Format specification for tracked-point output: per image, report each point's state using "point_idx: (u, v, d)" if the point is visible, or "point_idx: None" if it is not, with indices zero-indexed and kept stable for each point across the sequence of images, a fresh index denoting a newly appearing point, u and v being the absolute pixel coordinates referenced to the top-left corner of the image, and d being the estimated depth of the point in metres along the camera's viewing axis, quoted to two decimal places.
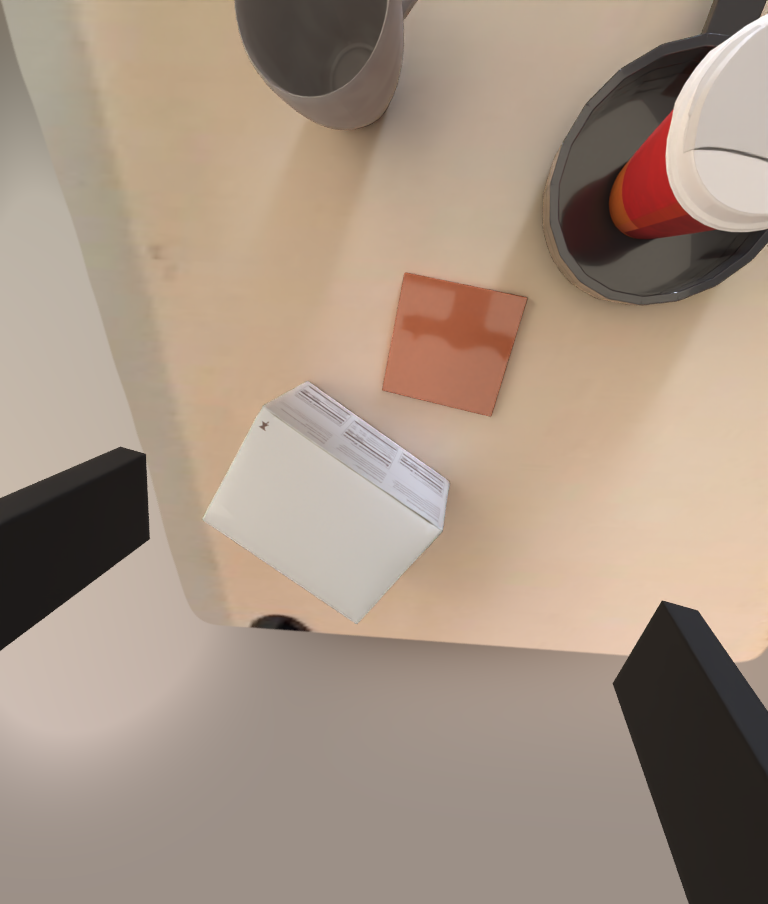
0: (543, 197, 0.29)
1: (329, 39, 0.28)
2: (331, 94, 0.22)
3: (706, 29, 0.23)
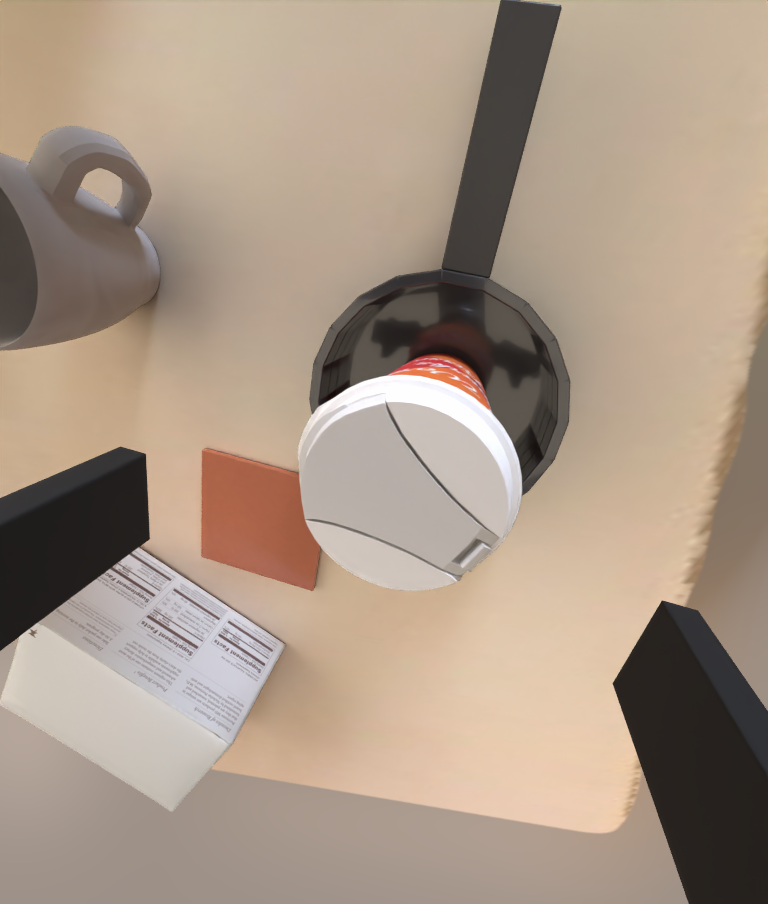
0: None
1: None
2: (5, 347, 0.20)
3: (442, 263, 0.20)
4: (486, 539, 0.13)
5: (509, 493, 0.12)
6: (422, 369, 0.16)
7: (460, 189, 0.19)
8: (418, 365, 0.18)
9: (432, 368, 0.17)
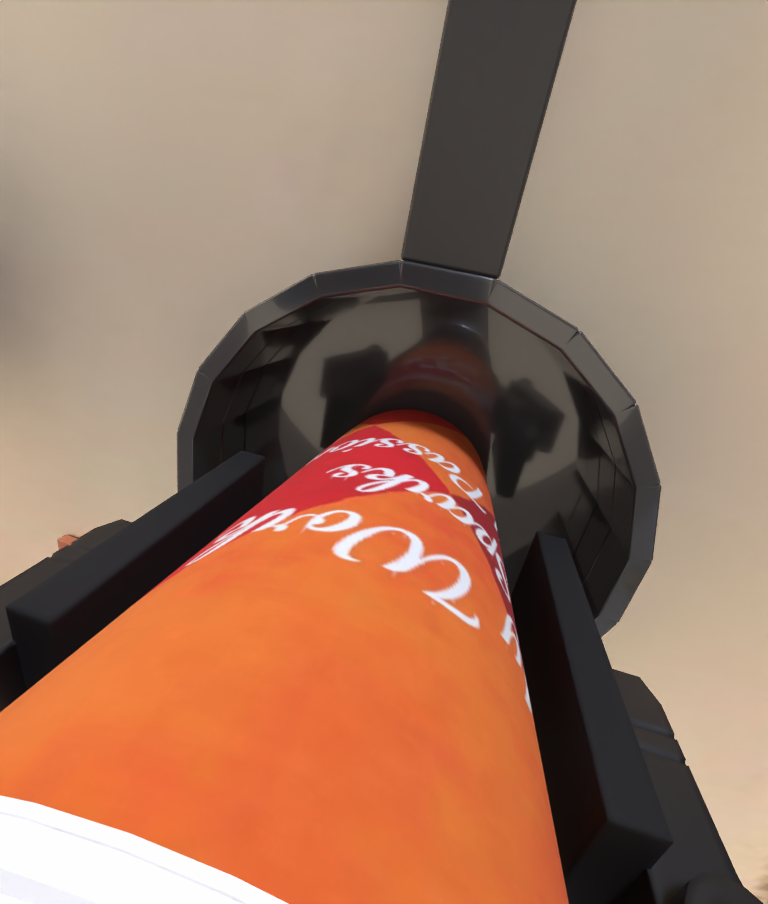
0: None
1: None
2: None
3: None
4: None
5: None
6: (320, 525, 0.06)
7: (436, 81, 0.08)
8: (330, 486, 0.07)
9: (354, 511, 0.06)
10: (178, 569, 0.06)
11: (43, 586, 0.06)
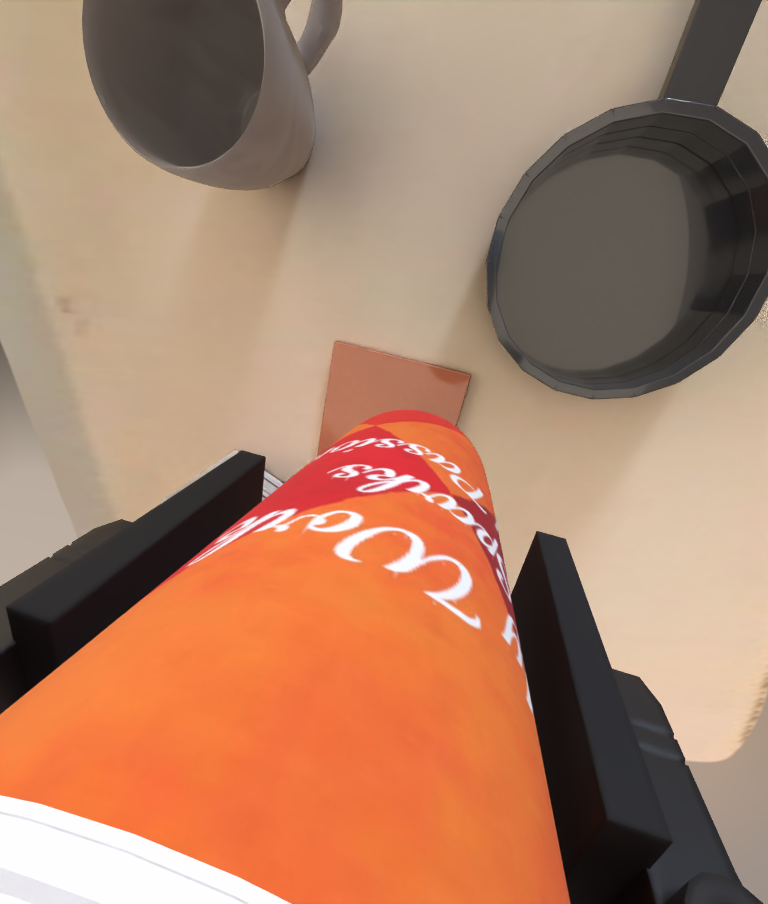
0: None
1: (235, 82, 0.24)
2: (206, 166, 0.18)
3: (664, 93, 0.19)
4: None
5: None
6: (322, 525, 0.06)
7: (702, 1, 0.18)
8: (331, 486, 0.07)
9: (356, 511, 0.06)
10: (179, 569, 0.06)
11: (43, 586, 0.06)
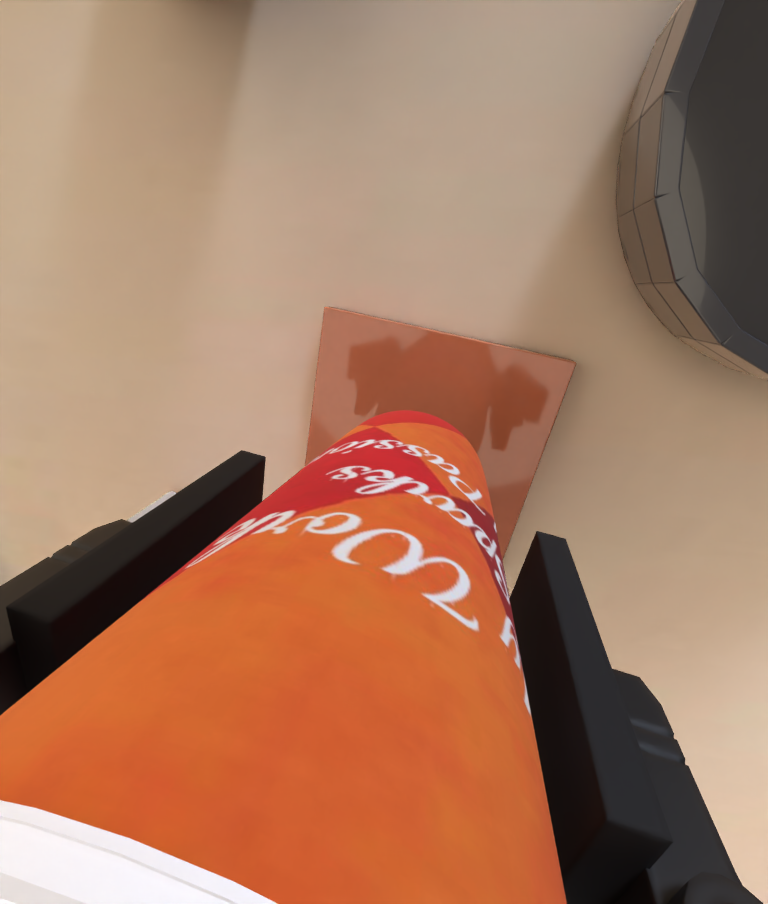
0: (624, 142, 0.13)
1: None
2: None
3: None
4: None
5: None
6: (320, 527, 0.06)
7: None
8: (330, 488, 0.07)
9: (354, 513, 0.06)
10: (178, 572, 0.06)
11: (43, 586, 0.06)
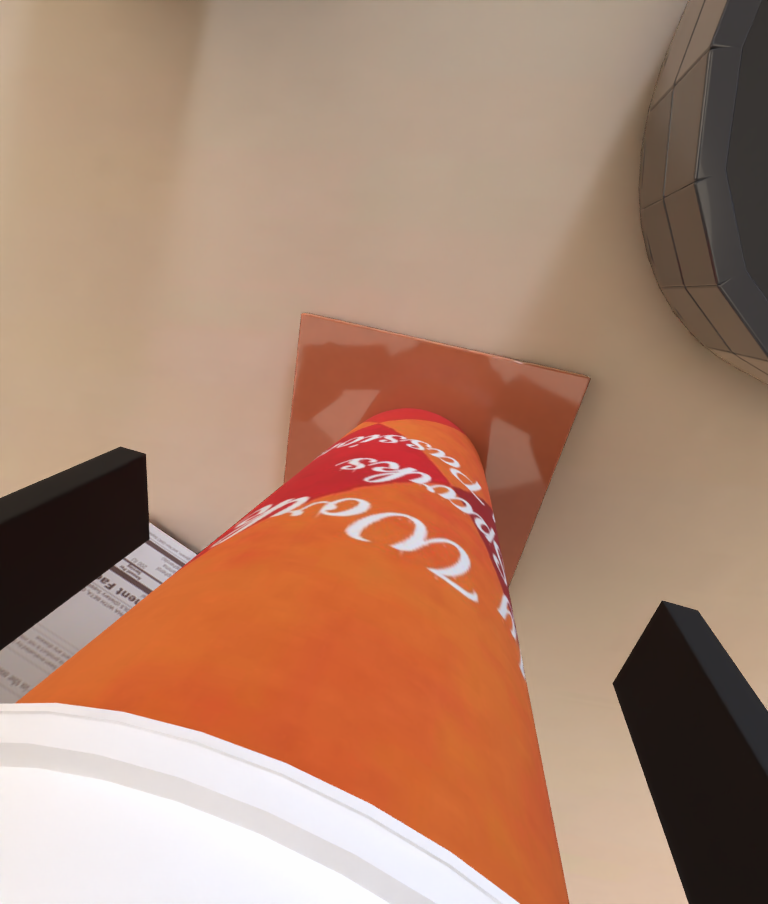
0: (650, 118, 0.11)
1: None
2: None
3: None
4: None
5: None
6: (333, 510, 0.07)
7: None
8: (340, 477, 0.08)
9: (363, 498, 0.07)
10: (203, 550, 0.06)
11: None
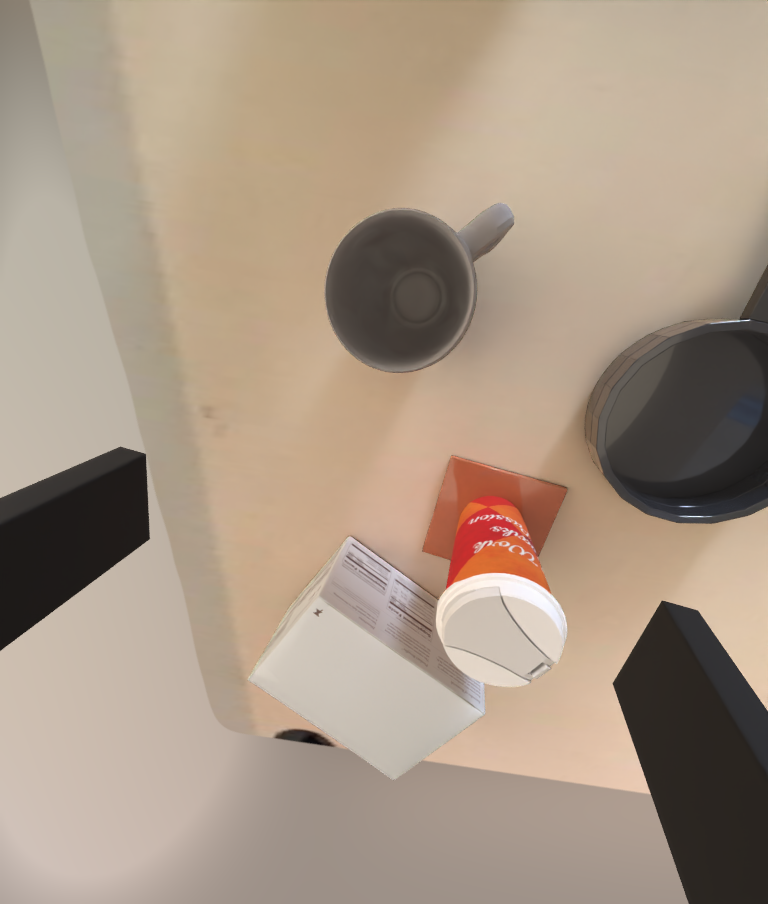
0: (587, 411, 0.32)
1: (394, 267, 0.30)
2: (410, 370, 0.24)
3: (748, 314, 0.26)
4: (548, 663, 0.24)
5: (562, 642, 0.23)
6: (502, 544, 0.27)
7: None
8: (495, 534, 0.29)
9: (506, 541, 0.28)
10: (472, 553, 0.27)
11: None
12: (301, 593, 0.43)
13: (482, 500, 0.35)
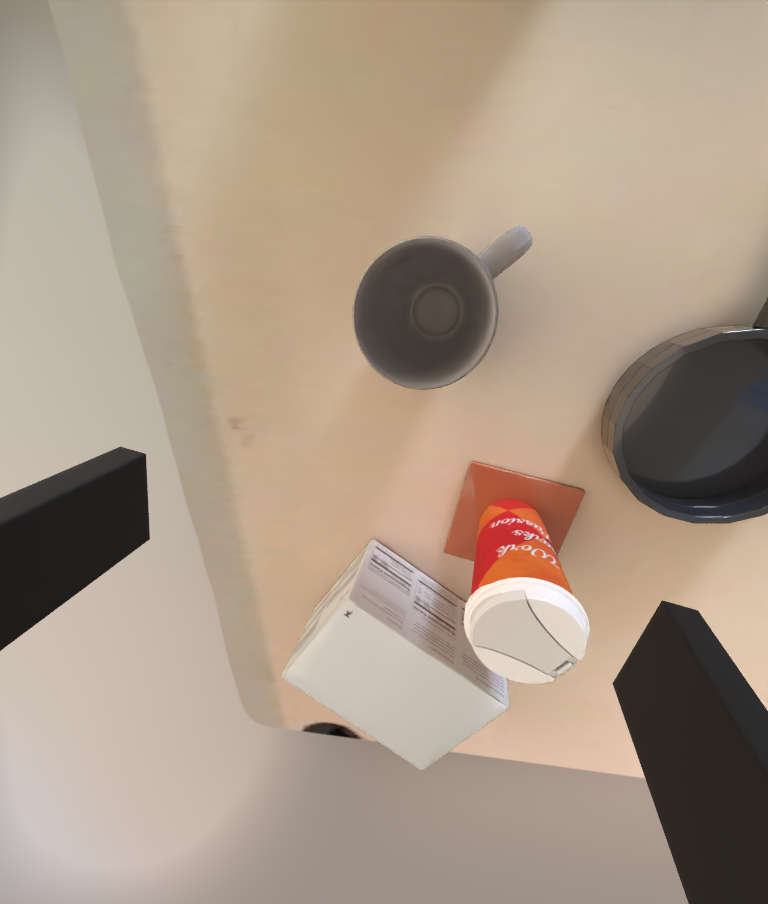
0: (604, 417, 0.33)
1: (414, 283, 0.32)
2: (435, 387, 0.26)
3: (761, 323, 0.26)
4: (572, 661, 0.25)
5: (586, 641, 0.24)
6: (524, 548, 0.29)
7: None
8: (517, 538, 0.30)
9: (528, 545, 0.29)
10: (496, 558, 0.29)
11: None
12: (327, 594, 0.45)
13: (502, 503, 0.36)
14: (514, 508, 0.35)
